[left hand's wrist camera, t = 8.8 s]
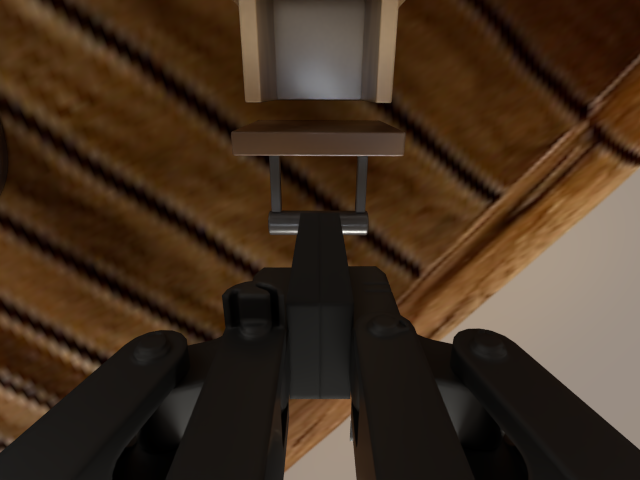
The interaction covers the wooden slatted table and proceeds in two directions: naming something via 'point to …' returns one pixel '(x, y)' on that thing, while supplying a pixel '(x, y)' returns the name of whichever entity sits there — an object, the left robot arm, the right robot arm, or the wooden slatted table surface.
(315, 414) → the wooden slatted table surface
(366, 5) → the drawer
